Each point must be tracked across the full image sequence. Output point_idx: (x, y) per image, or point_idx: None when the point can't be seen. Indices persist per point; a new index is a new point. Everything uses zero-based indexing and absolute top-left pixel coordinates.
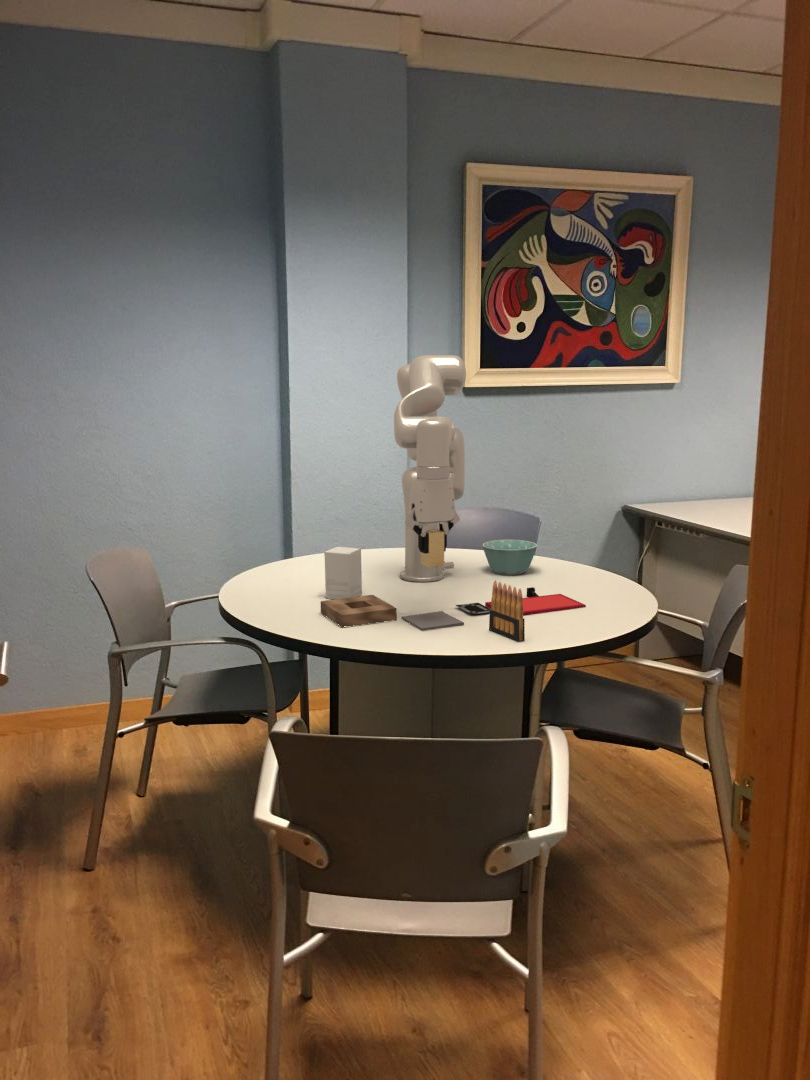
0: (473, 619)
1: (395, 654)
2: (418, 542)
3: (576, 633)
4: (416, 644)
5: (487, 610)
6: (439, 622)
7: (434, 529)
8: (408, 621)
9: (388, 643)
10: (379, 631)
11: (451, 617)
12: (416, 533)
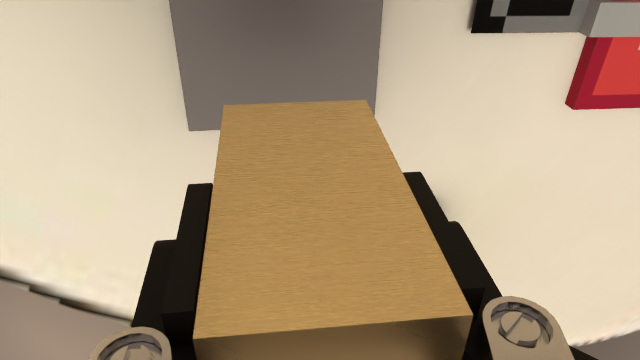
0: (447, 68)
1: (32, 292)
2: (145, 283)
3: (585, 292)
4: (123, 240)
5: (564, 6)
6: (287, 87)
7: (424, 337)
8: (170, 4)
9: (26, 204)
10: (9, 63)
11: (368, 42)
12: (96, 355)
